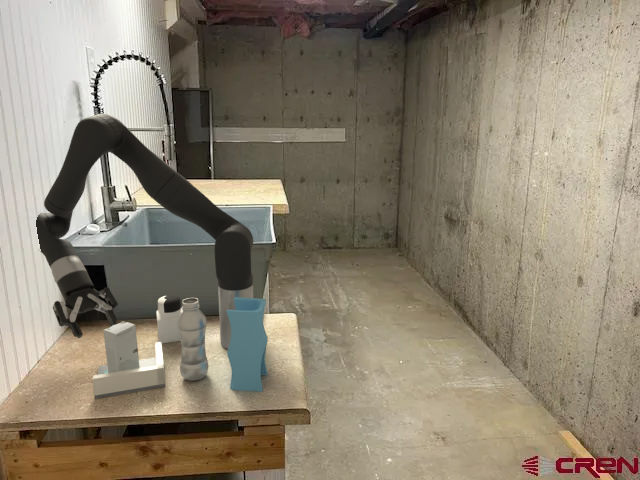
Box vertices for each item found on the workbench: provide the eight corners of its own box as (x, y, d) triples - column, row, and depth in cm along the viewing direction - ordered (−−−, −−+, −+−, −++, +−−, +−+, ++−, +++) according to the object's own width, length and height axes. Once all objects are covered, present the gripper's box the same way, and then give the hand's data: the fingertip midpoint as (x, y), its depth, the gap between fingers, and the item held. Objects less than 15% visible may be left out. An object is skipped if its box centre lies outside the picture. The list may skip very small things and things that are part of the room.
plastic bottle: (178, 372, 117) (173, 297, 112) (206, 367, 120) (202, 293, 114) (182, 386, 111) (177, 308, 106) (211, 380, 114) (207, 304, 108)
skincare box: (120, 381, 111) (115, 334, 108) (107, 376, 113) (101, 330, 110) (141, 369, 117) (136, 324, 113) (128, 364, 119) (123, 320, 115)
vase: (236, 371, 118) (234, 297, 113) (267, 373, 118) (267, 298, 112) (228, 389, 111) (225, 311, 105) (262, 391, 110) (261, 312, 105)
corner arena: (162, 359, 123) (161, 341, 122) (165, 386, 111) (163, 367, 110) (99, 368, 118) (97, 350, 117) (95, 398, 106) (92, 379, 105)
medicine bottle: (183, 329, 139) (181, 291, 136) (186, 340, 133) (183, 300, 130) (158, 332, 137) (154, 294, 134) (159, 344, 130) (155, 304, 127)
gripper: (45, 277, 116) (72, 334, 112) (102, 263, 127) (128, 315, 123) (39, 291, 121) (65, 347, 117) (95, 277, 131) (120, 327, 127)
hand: (97, 330), depth 120 cm, fingers open, 8 cm apart
